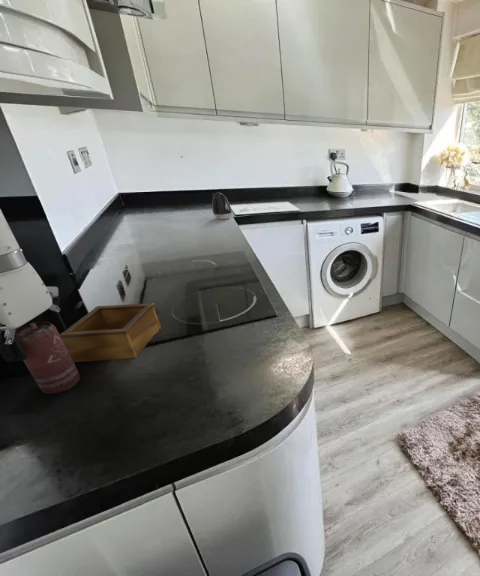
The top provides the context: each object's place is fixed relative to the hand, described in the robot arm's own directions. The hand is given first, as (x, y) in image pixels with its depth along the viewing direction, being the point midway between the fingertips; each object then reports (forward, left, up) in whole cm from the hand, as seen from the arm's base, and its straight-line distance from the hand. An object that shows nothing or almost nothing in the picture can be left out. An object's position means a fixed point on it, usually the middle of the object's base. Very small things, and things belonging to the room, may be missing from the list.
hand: (38, 344), depth 63 cm
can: (0, 0, -11) cm, 11 cm away
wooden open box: (+4, +14, -10) cm, 18 cm away
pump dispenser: (-8, +143, -11) cm, 144 cm away
